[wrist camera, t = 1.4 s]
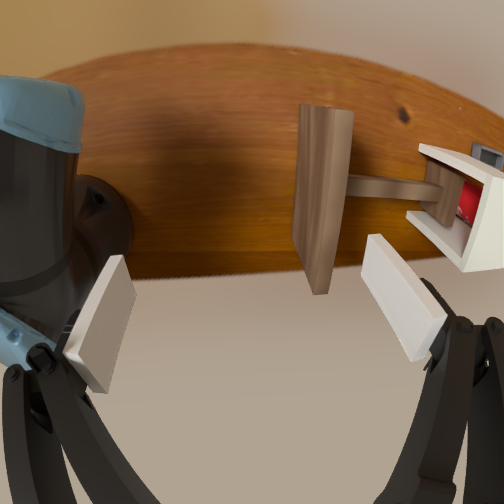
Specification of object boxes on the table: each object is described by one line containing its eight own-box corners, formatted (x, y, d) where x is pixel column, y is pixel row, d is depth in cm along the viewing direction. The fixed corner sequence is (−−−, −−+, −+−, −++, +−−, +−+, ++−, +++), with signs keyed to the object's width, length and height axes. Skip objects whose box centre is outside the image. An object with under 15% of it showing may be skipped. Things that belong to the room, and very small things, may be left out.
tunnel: (405, 217, 37) (462, 272, 24) (419, 143, 31) (492, 176, 19) (450, 220, 37) (504, 267, 25) (465, 154, 31) (531, 188, 19)
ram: (291, 236, 37) (313, 294, 27) (299, 104, 28) (335, 108, 18) (417, 235, 38) (460, 280, 28) (438, 128, 29) (499, 150, 19)
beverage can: (457, 192, 35) (507, 226, 24) (436, 206, 36) (484, 245, 26) (451, 164, 32) (506, 194, 22) (428, 178, 33) (483, 213, 23)
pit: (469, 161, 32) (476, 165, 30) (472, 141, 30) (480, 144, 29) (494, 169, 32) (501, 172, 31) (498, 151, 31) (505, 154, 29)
